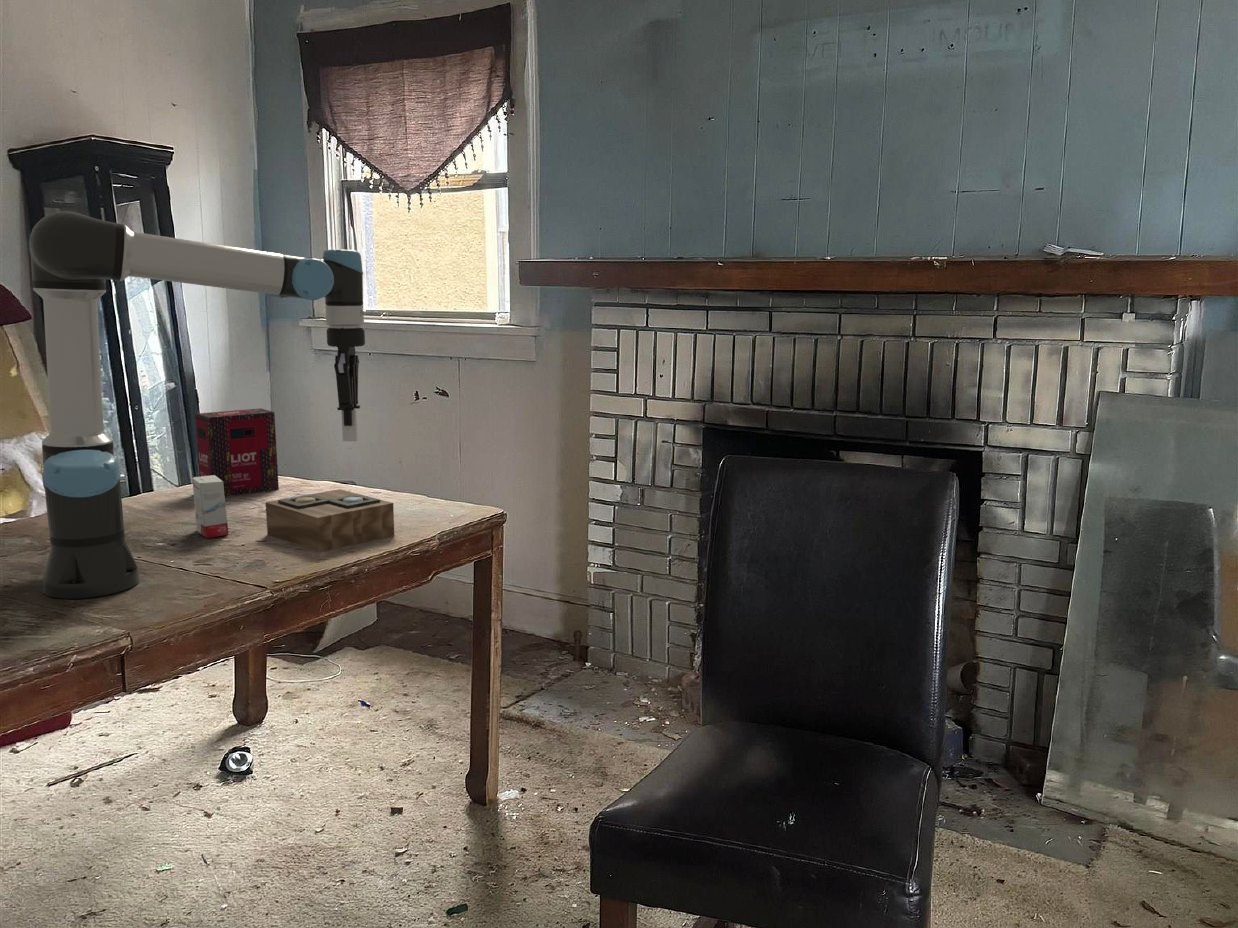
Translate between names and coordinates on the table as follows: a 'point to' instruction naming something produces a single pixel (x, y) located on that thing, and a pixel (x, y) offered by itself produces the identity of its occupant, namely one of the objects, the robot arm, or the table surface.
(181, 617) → the table surface
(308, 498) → the birch peg rear
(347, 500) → the slate peg front
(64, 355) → the robot arm
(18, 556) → the table surface
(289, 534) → the walnut block
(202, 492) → the ink box
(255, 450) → the box
